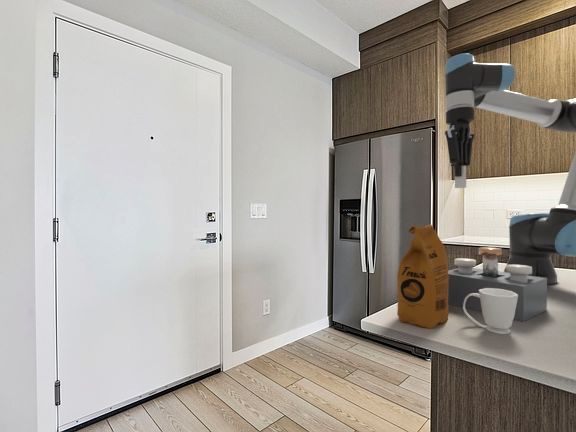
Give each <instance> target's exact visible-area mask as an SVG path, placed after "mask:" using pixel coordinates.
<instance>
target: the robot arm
mask: <svg viewBox="0 0 576 432" xmlns="http://www.w3.org/2000/svg"><path fill="white" fill-rule="evenodd" d="M444 70H445V71H444V77H445V83H444V84H445V102H444V105H445V110H446V112H445V123H446V125H448V126H449V129H448V130H445V132H444V135H445V137H446V143H447V149H448V151H447V152H448V158H449V163H450V167H454V189H465V188H467V167H469V166H470V165H471V160H472V159H471V158H472V150H473V143H474V142H473V141H474V137H475V134H474V133H471V132H470V129H471V128H470V123H472V122H473V121H474V120H475V108H477V109H481V110H484V111H489V112H493V113H497V114H501V115H505V116H509V117H512V118H517V119H519V120H520V119H521V120H524V121H529V122H532V123H536V125H537V126H538V128H539V127H540V128H544V129H548V130H550V131H551V130H552V131H557V132H564V133H574V134H575V133H576V98H573V99H568V100H567V99H565V100H560V99H555V98H554V99H550V100H547V99H542V98H539V97H534V96H530V95H527V94H522V93H519V92H516V91H515V92H514V91H510V90H507V89H509V88H510V87H511V86H512V84H513V83H514V81H515V76H516V69H515V67H514V66H513V65H512V64H510V63H501V62H497V63H493V62H492V63H479V62H475V58H474V55H473V54H472V53H471V54H470V53H467V52H466V53H465V52H464V53H458V54H456V55H453V56H451V57H450V58H449V59H448V60H447V61H446V62H445V69H444ZM561 192H562V193H561V195H560V198H559V201H558V204H557V205H555V206H553V207H551V208H550V209H549V212H539V213H538V212H537V213H525V214H515V215H513V216H511V217H510V219H509V225H508V229H509V232H508V233H509V258H508V260H507V262H506V265H526V266H531V267H532V274H528V276H535V277H542V278H547V285H551V284H557V283H558V275H557V272H556V269H555V267H554V264H553V262H552V257H551V255H552V254H554V255H562V256H565V257H571V258H572V257H576V151H575V152H574V155H573V158H572V161H571V164H570V168H569V170H568V173H567V177H566V179H565V182H564V186H563V189H562V191H561ZM503 272H506V266H505V268H504V270H503ZM506 273H508V272H506Z"/></svg>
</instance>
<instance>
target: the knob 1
mask: <svg viewBox="0 0 576 432" xmlns="http://www.w3.org/2000/svg"><path fill="white" fill-rule="evenodd" d="M454 265H455V266H456V267H458V268H457V269H458V272H461V273H467V274H471V273H472V268H476V267H477V260H476V259H474V258H466V257H465V258H459V257H458V258H454Z"/></svg>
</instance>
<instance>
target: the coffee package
mask: <svg viewBox="0 0 576 432" xmlns="http://www.w3.org/2000/svg"><path fill="white" fill-rule="evenodd" d="M408 233H410V234H413V235H414V237H413V238H412V241H411V243H410V244H409V245H410V246H409V249H408V250H407V252H406V253H405V254H404V256H403V257H402V259H401V261H400V263H399V266H398V272H397V275H396V276H397V317H398V319H399V321H401V322H402V323H408V324H410V325H412V326H418V327H420V328H426V329H430V330H431V329H434V328H435V327H436V326H437V325H438V324H444V323H446V321H447V319H448V317H450V314H449V303H448V284H449V276H448V270H449V266H448V256H447V251H446V248H445V246H444V244H443V241H442V240H441V239H440V237H439V235H438V233H437V232H436V230H435V229H434V227H433V225H432V224H431V223H429V224H426V225H425V226H414V225H412V226H411V227H410V228H409V229H408Z"/></svg>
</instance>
